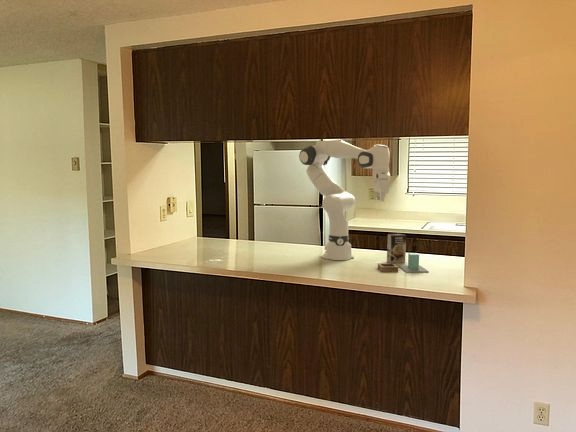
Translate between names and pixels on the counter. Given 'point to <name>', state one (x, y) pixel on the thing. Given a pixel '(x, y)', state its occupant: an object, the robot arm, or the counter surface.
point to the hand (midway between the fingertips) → (380, 200)
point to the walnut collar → (388, 267)
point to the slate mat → (414, 270)
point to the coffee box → (396, 248)
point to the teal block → (413, 261)
